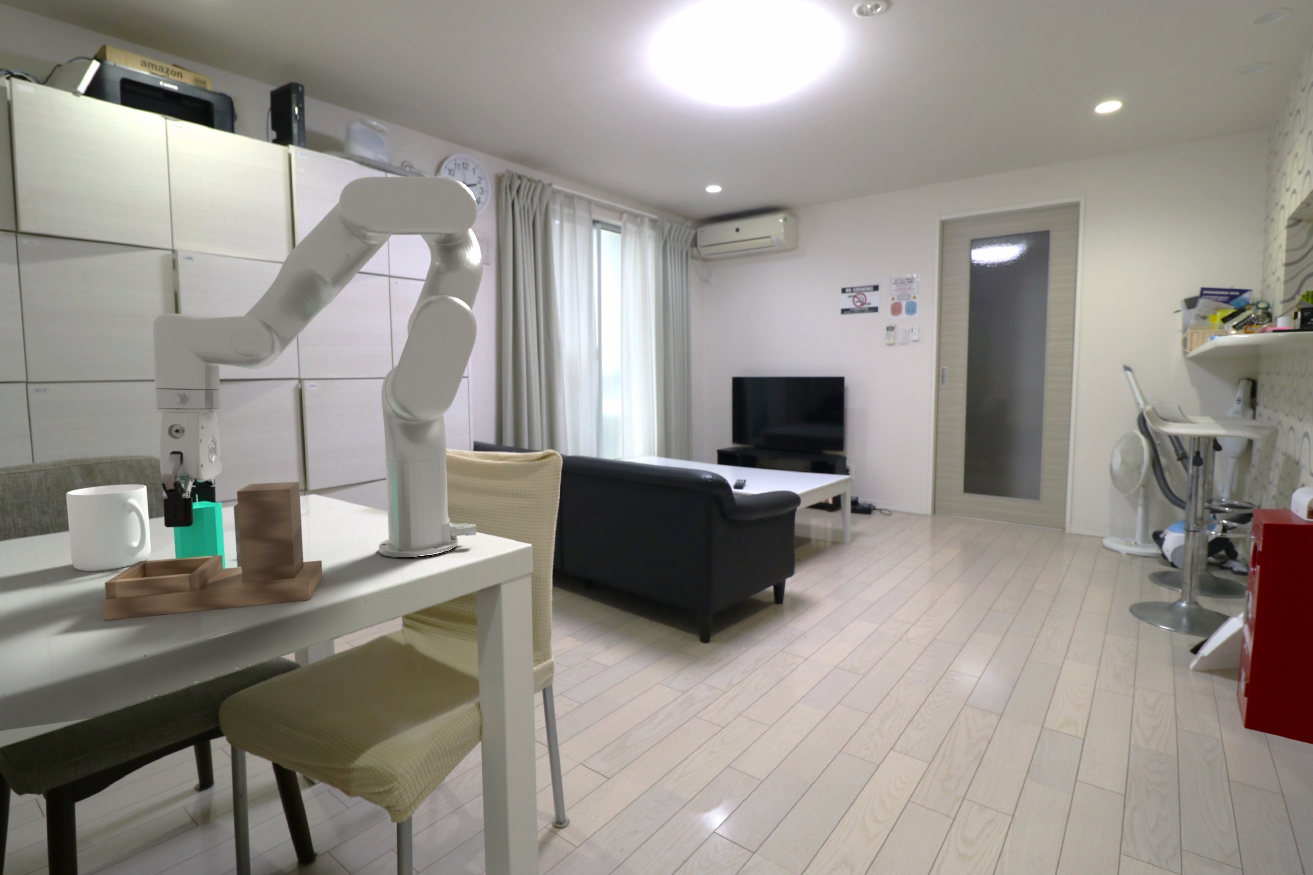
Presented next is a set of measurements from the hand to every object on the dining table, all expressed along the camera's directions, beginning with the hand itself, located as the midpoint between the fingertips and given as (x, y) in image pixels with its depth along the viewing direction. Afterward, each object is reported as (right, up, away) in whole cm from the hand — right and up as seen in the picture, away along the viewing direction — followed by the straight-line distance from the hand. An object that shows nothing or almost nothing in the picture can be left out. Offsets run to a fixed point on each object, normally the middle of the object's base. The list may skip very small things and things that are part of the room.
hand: (191, 519), depth 93 cm
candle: (+1, -9, +1) cm, 9 cm away
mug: (-16, -8, +7) cm, 19 cm away
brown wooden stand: (+10, -9, -8) cm, 16 cm away
